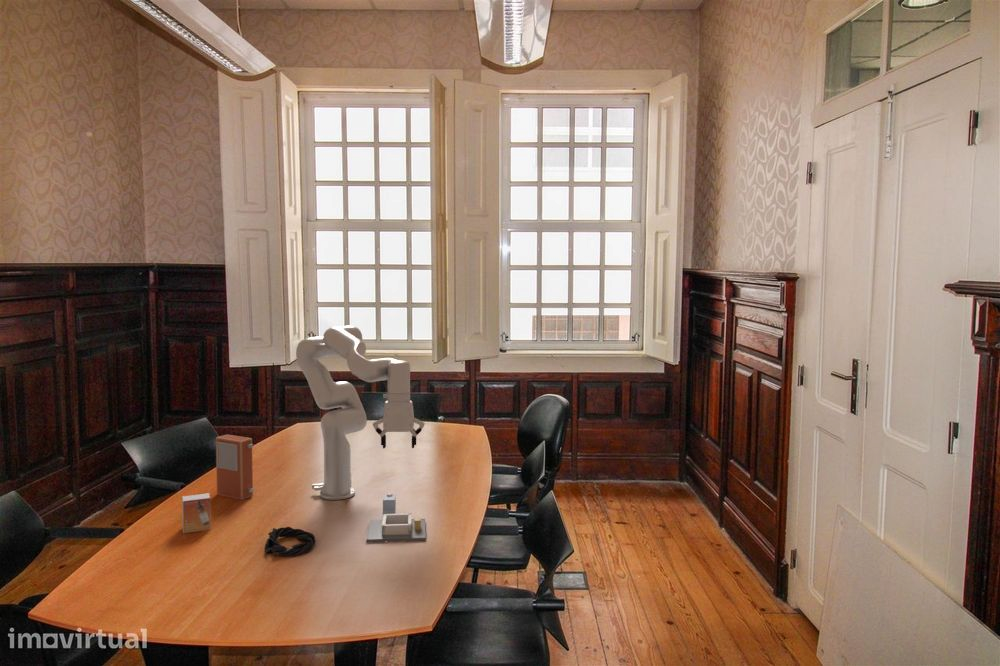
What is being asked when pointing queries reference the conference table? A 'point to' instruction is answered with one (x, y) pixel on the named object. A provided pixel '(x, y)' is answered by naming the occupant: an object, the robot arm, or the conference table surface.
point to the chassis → (397, 528)
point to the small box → (196, 513)
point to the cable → (295, 549)
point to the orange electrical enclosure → (234, 466)
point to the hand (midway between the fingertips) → (398, 447)
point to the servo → (389, 504)
